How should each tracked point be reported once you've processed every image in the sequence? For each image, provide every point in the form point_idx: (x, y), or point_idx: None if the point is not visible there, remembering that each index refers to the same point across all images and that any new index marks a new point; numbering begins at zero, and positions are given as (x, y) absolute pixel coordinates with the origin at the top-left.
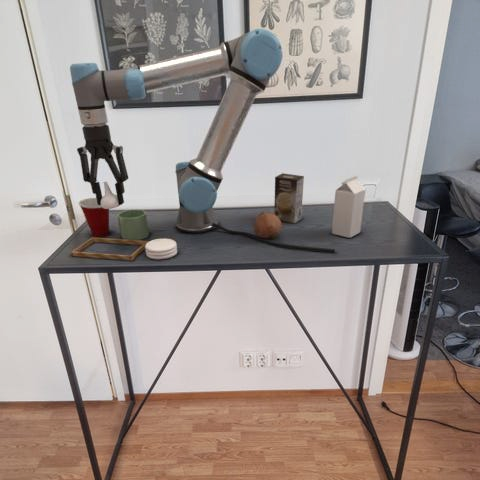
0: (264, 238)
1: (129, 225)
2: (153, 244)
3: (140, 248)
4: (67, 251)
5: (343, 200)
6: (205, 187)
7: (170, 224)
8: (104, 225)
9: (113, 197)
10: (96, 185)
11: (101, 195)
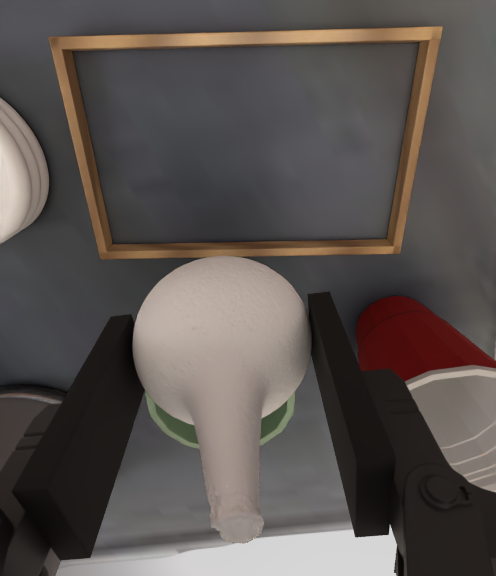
0: None
1: None
2: None
3: (78, 165)
4: (482, 94)
5: None
6: None
7: (154, 441)
8: (366, 338)
9: (154, 354)
10: (350, 452)
11: (322, 393)
